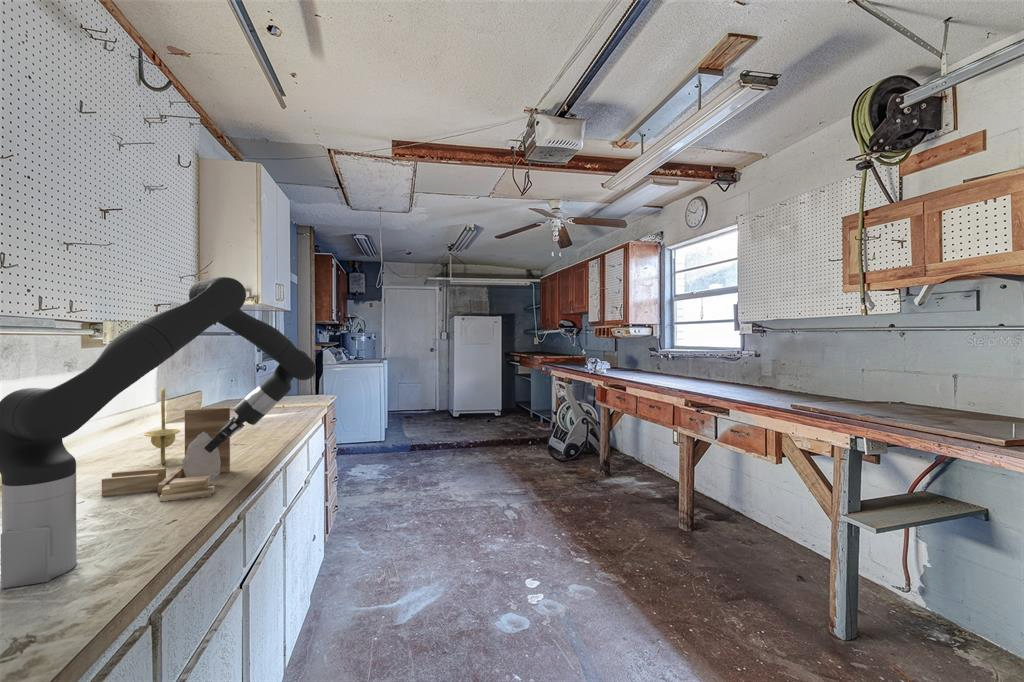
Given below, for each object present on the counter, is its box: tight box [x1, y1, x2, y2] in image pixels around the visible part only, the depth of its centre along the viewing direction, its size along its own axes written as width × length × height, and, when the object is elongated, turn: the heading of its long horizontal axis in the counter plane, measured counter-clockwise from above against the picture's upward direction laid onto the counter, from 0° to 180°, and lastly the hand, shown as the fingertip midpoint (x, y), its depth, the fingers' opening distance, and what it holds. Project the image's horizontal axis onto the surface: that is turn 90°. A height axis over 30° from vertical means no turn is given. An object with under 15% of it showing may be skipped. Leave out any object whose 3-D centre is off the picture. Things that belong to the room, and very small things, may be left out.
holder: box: [101, 467, 167, 497], centre depth 124 cm, size 7×12×4 cm, turn 112°
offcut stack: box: [159, 476, 216, 502], centre depth 119 cm, size 5×11×4 cm, turn 112°
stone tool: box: [182, 432, 221, 484], centre depth 128 cm, size 9×3×15 cm, turn 119°
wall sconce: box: [143, 387, 181, 465], centre depth 149 cm, size 14×10×25 cm
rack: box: [157, 407, 231, 497], centre depth 130 cm, size 19×13×20 cm
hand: (211, 446), depth 128 cm, fingers open, 8 cm apart
